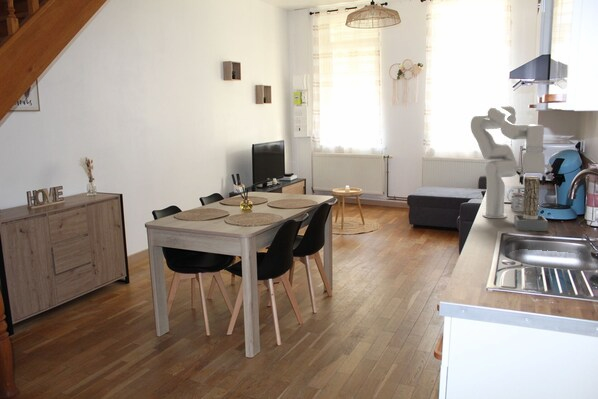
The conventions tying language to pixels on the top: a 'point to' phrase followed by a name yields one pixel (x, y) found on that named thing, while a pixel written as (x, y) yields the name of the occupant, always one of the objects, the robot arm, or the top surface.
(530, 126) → the robot arm
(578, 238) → the top surface
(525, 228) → the box
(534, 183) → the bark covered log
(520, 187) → the french press
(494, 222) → the top surface
